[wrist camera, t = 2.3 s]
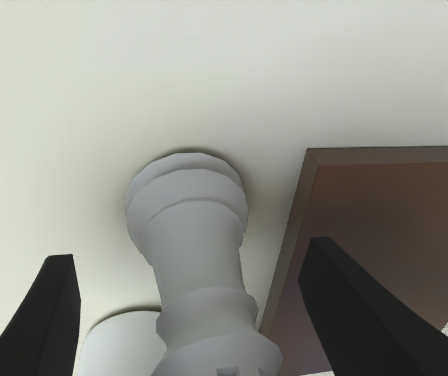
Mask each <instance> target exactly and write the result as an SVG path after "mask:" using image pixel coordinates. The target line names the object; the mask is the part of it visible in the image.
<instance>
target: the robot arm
mask: <svg viewBox="0 0 448 376" xmlns="http://www.w3.org/2000/svg"><path fill="white" fill-rule="evenodd" d="M298 283H299V287H300V290H301V294H302V298H303V301H304V304H305V307H306V310H307V313H308V315H309V317H310V320H311V322H312V324H313V327H314V329H315V331H316V334H317V336H318V338H319V340H320V343H321V345H322V347H323V349H324V352H325V354H326V356H327V359H328V361H329V363H330V365H331V368H332V370H333V372H334V375H335V376H448V336H446V335H445V334H443V333H442V332H441V331H439V330H438V329H436V328H435V327H434V326H432V325H431V324H429V323H428V322H427V321H425V320H424V319H423V318H421V317H420V316H419V315H417V314H416V313H415V312H414V311H412V310H411V309H410V308H409V307H407V306H406V305H405V304H404V303H402V302H401V301H400V300H399V299H398V298H396V297H395V296H394V295H393V294H392V293H390V292H389V291H388V290H387V289H386V288H385V287H383V286H382V285H381V284H380V283H379V282H378V281H377V280H376V279H374V278H373V277H372V276H371V275H370V274H369V273H368V272H367V271H366V270H365V269H364V268H362V267H361V266H360V265H359V264H358V263H357V262H356V261H355V260H354V259H353V258H352V257H351V256H350V255H349V254H348V253H346V252H345V251H344V250H343V249H342V248H341V247H340V246H339V245H338V244H337V243H336V242H335V241H334V240H332V239H331V238H330V237H329V236H323V237H311V239H310V242H309V246H308V249H307V252H306V255H305V258H304V261H303V264H302V267H301V271H300V274H299V277H298ZM80 309H81V298H80V292H79V287H78V281H77V276H76V271H75V265H74V260H73V255H72V254H66V255H52V256H48V257H47V258H46V259H45V261H44V263H43V265H42V267H41V269H40V271H39V273H38V275H37V277H36V279H35V281H34V282H33V284H32V286H31V288H30V289H29V291H28V293H27V295H26V296H25V298H24V300H23V301H22V303H21V305H20V306H19V308H18V309H17V311H16V313H15V314H14V316H13V317H12V319H11V321H10V322H9V324H8V325H7V327H6V328H5V330H4V331H3V333H2V334H1V336H0V376H72V374H73V368H74V362H75V356H76V350H77V344H78V338H79V327H80Z"/></svg>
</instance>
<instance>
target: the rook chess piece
mask: <svg viewBox="0 0 448 376" xmlns="http://www.w3.org/2000/svg"><path fill="white" fill-rule="evenodd" d="M244 193H245V191H244V188H243V185H242V182H241V179H240V177H239V174H238V173H237V172H236V171H235V170H234V169H232V168H231V167H230V166H229V165H228V164H227V163H226V162H225V161H224V160H221V159H218V158H215V157H212V156H209V155H207V154H204V153H175V154H172V155H170V156H167V157H164V158H162V159H159V160H156V161H153V162H151V163H150V164H149V165H148V166H146V167H145V168H144V169H143V170H142V171H141V172H140V173H138V174H137V175H136V176H135V177H134V178H133V180H132V182H131V184H130V186H129V188H128V190H127V193H126V195H125V211H126V217H127V227H128V233H129V235H130V238H131V240H132V241H133V243H134V244H135V245H136V247H137V248H138V250H139V251H140V253H141V254H143V256H144V257H145V259H146V260H147V262H148V263H149V265H151V266H152V267H153V270H154V273H155V277H156V281H157V285H158V289H159V293H160V297H161V304H162V312H161V313H160V315H159V316H158V318H157V319H156V333H157V334H158V335H159V337H160V338H161V339H162V340H163V342H164V343H165V344H166V347H167V351H166V353H165V354H164V356H163V357H162V359H161V360H160V362H159V363H158V365H157V367H156V368H155V370H154V371H153V373H152V374H151V376H278V373H279V370H280V367H281V364H282V361H283V356H282V354H281V351H280V349H279V346H278V345H276V344H275V343H273V342H272V341H270V340H269V339H267V338H266V337H265V336H263V335H262V334H260V333H259V332H257V331H256V330H255V326H254V323H255V321H256V318H257V314H258V306H257V304H256V302H255V300H254V298H253V297H252V296H250V295H249V294H247V293H246V291H245V287H244V284H243V279H242V271H241V263H240V254H239V248H240V246H241V245H242V239H243V234H244V233H245V230H246V225H247V219H248V209H249V207H248V204H247V201H246V198H245V195H244Z"/></svg>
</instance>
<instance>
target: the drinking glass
mask: <svg viewBox="0 0 448 376" xmlns="http://www.w3.org/2000/svg"><path fill="white" fill-rule="evenodd" d="M159 315H160V312H154V311H133V312H127V313H122V314H119V315H116V316H113V317H110V318H108V319H106V320H104V321H102V322H101V323H99V324H98V325H96V326H95V327H94V328H93V329H92V330H91V331H90V332H89V333H88V334H87V336H86V337H85V339H84V340H83V342H82V345H81V348H80V353H79V361H78V371H77V376H151V374H152V373H153V371H154V370H155V368H156V367H157V365H158V363H159V362H160V360H161V359H162V357H163V356H164V354H165V353H166V351H167V347H166V344H165V343H164V342H163V340H162V339H161V338H160V337H159V335H158V334H157V333H156V319H157V318H158V316H159Z"/></svg>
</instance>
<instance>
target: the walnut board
mask: <svg viewBox="0 0 448 376" xmlns="http://www.w3.org/2000/svg"><path fill="white" fill-rule="evenodd" d="M323 236H329V237H330V238H331V239H332V240H334V241H335V242H336V243H337V244H338V245H339V246H340V247H341V248H342V249H343V250H344V251H345V252H346V253H348V254H349V255H350V256H351V257H352V258H353V259H354V260H355V261H356V262H357V263H358V264H359V265H360V266H361V267H362V268H364V269H365V270H366V271H367V272H368V273H369V274H370V275H371V276H372V277H373V278H374V279H376V280H377V281H378V282H379V283H380V284H381V285H382V286H383V287H385V288H386V289H387V290H388V291H389V292H390V293H392V294H393V295H394V296H395V297H396V298H398V299H399V300H400V301H401V302H402V303H404V304H405V305H406V306H407V307H409V308H410V309H411V310H412V311H414V312H415V313H416V314H417V315H419V316H420V317H421V318H423V319H424V320H425V321H427V322H428V323H429V324H431V325H432V326H434V327H435V328H436V329H438V330H439V331H441V330H442V329H443V328H444V326H445V325H446V324H447V322H448V146H440V147H381V148H322V149H307V151H306V155H305V159H304V163H303V167H302V170H301V174H300V178H299V182H298V186H297V190H296V193H295V197H294V201H293V205H292V209H291V213H290V216H289V220H288V224H287V228H286V232H285V236H284V239H283V243H282V247H281V251H280V255H279V258H278V262H277V266H276V270H275V274H274V278H273V281H272V285H271V289H270V293H269V297H268V301H267V304H266V308H265V312H264V316H263V320H262V323H261V327H260V331H259V333H260V334H262V335H263V336H265V337H266V338H267V339H269V340H270V341H272V342H273V343H275V344H276V345H278V346H279V349H280V351H281V354H282V356H283V361H282V364H281V367H280V370H279V373H278V376H300V375H307V374H314V373H321V372H327V371H333V370H332V368H331V365H330V363H329V361H328V359H327V356H326V354H325V352H324V349H323V347H322V345H321V343H320V340H319V338H318V336H317V334H316V331H315V329H314V327H313V324H312V322H311V320H310V317H309V315H308V313H307V310H306V307H305V304H304V301H303V298H302V294H301V290H300V287H299V283H298V277H299V274H300V271H301V267H302V264H303V261H304V258H305V255H306V252H307V249H308V246H309V242H310V239H311V237H323Z"/></svg>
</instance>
